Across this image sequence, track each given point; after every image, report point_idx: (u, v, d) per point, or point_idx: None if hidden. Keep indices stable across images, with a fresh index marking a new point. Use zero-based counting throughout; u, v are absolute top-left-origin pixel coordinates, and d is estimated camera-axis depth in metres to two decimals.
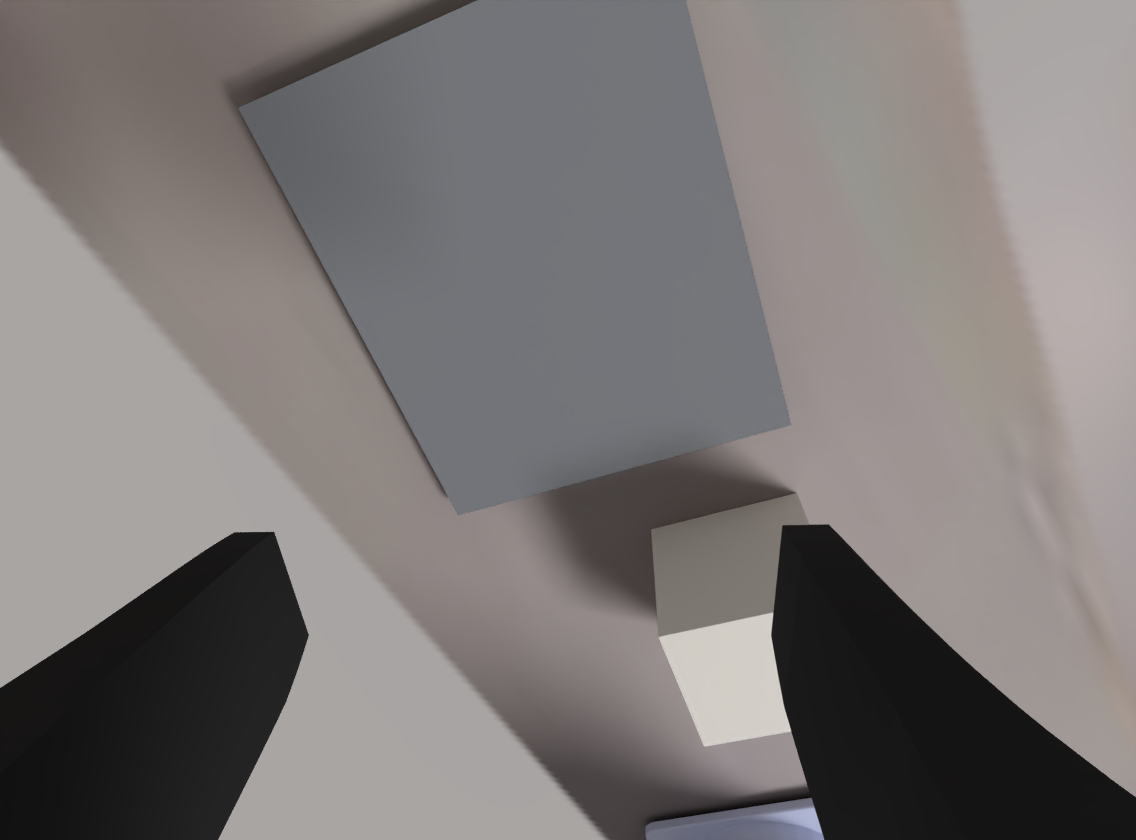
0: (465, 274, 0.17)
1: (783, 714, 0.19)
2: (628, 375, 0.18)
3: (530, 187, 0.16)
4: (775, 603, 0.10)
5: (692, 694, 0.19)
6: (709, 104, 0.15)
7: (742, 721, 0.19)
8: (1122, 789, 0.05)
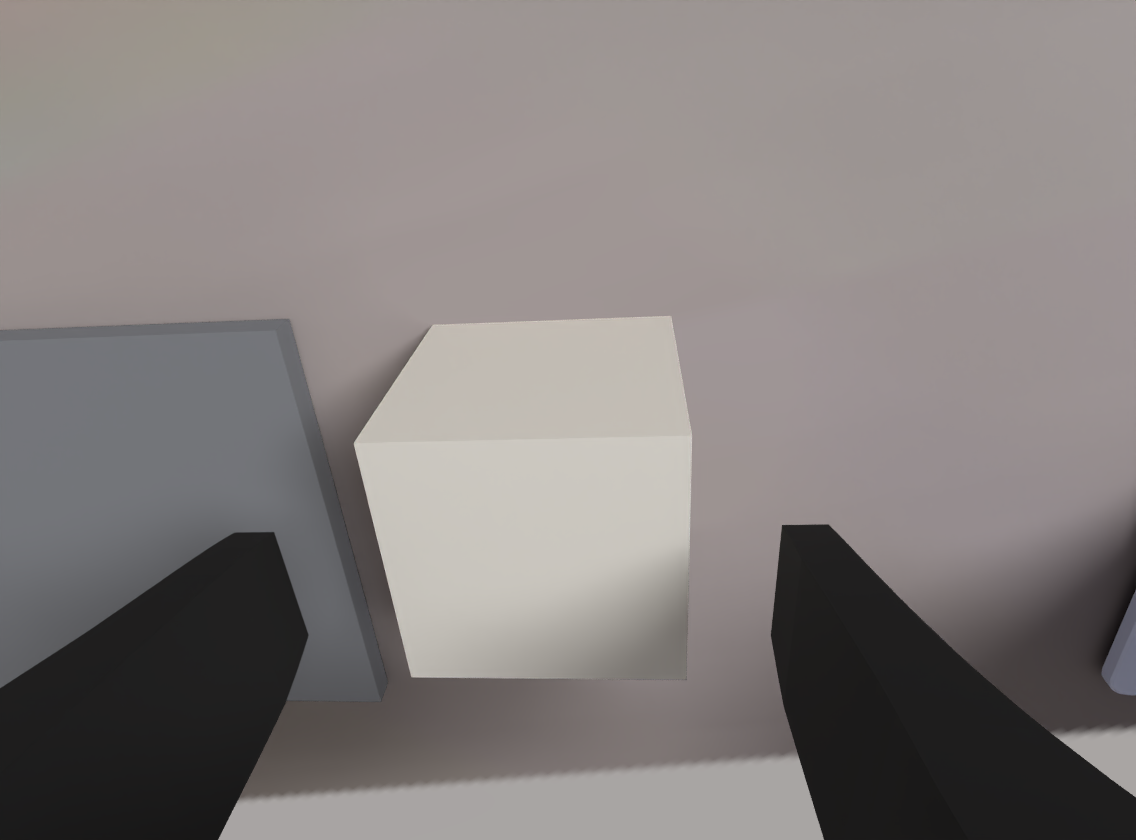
0: (79, 603, 0.17)
1: (636, 563, 0.10)
2: (195, 498, 0.15)
3: None
4: (775, 603, 0.10)
5: (548, 667, 0.11)
6: None
7: (637, 620, 0.11)
8: (1122, 789, 0.05)
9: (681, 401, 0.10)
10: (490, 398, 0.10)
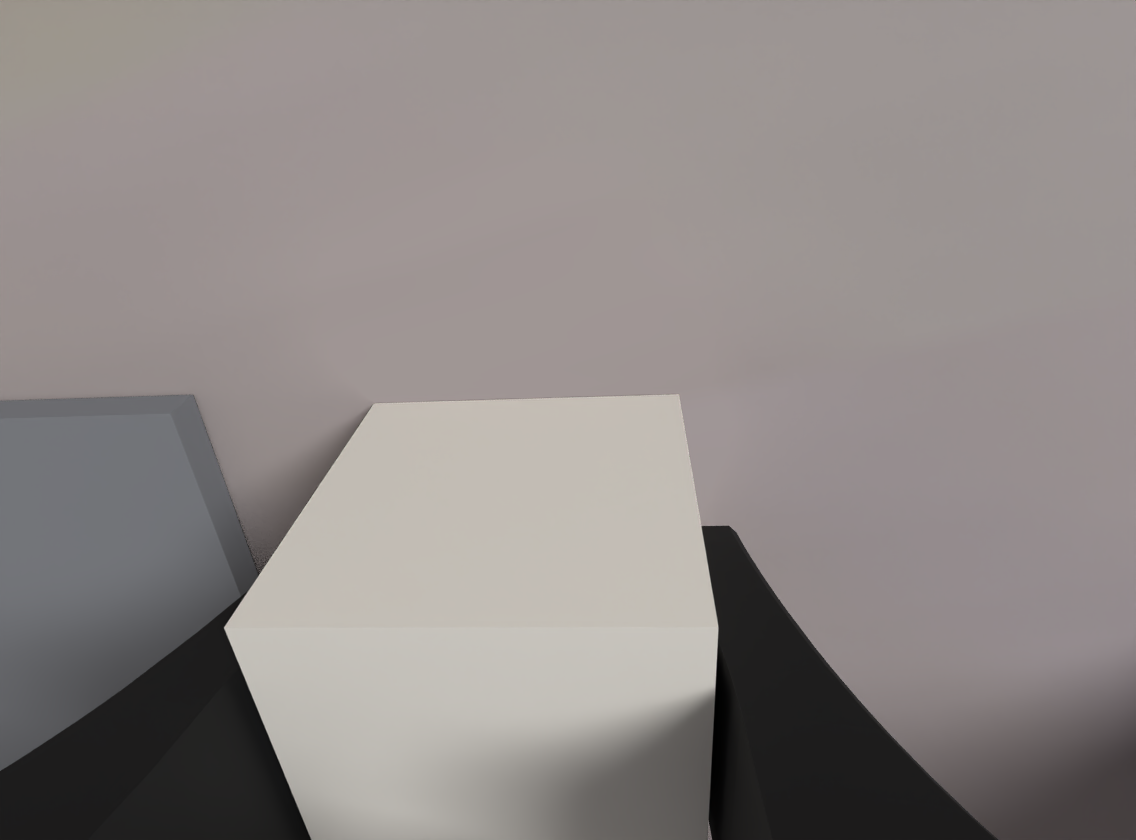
0: None
1: (636, 779, 0.07)
2: (89, 608, 0.12)
3: None
4: None
5: None
6: None
7: None
8: None
9: (699, 554, 0.07)
10: (430, 542, 0.07)
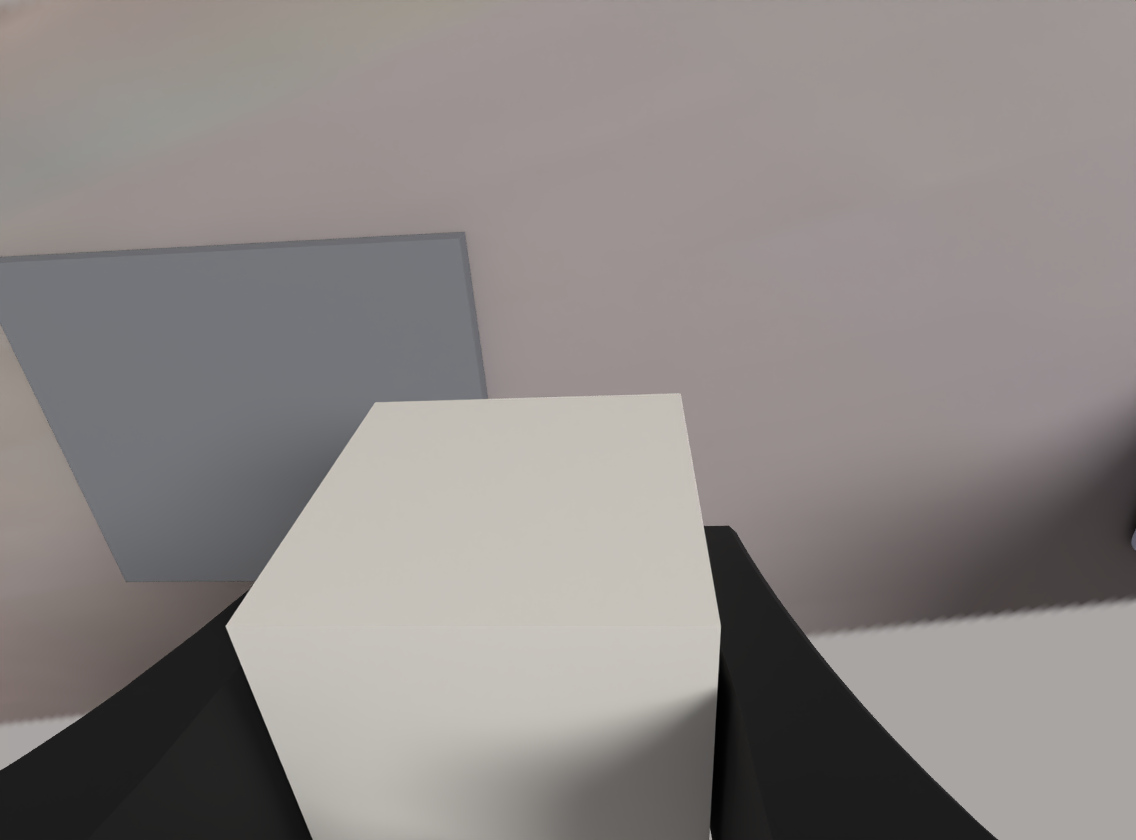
0: (257, 489, 0.19)
1: (638, 777, 0.07)
2: (371, 390, 0.18)
3: (182, 419, 0.18)
4: None
5: None
6: (110, 258, 0.16)
7: None
8: (939, 785, 0.05)
9: (701, 553, 0.07)
10: (432, 540, 0.07)
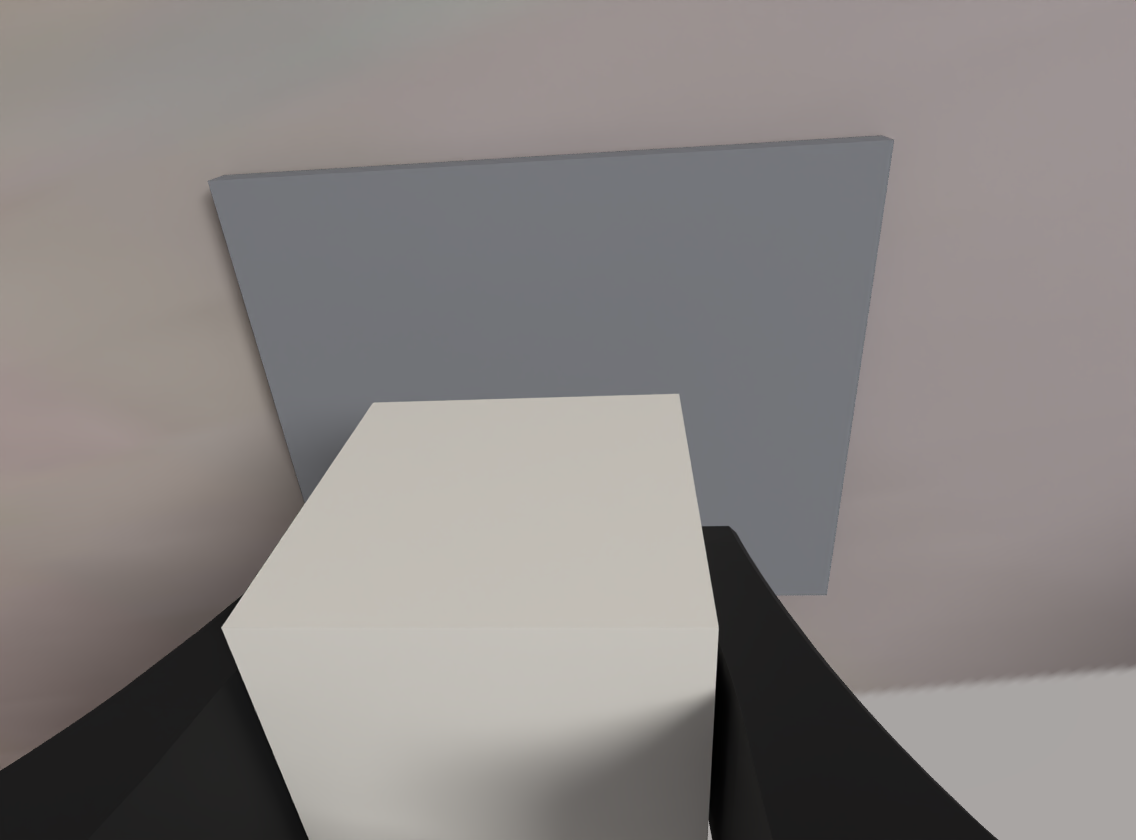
0: None
1: (635, 780, 0.07)
2: (714, 351, 0.14)
3: (451, 390, 0.14)
4: None
5: None
6: (399, 171, 0.12)
7: None
8: None
9: (700, 554, 0.07)
10: (430, 541, 0.07)
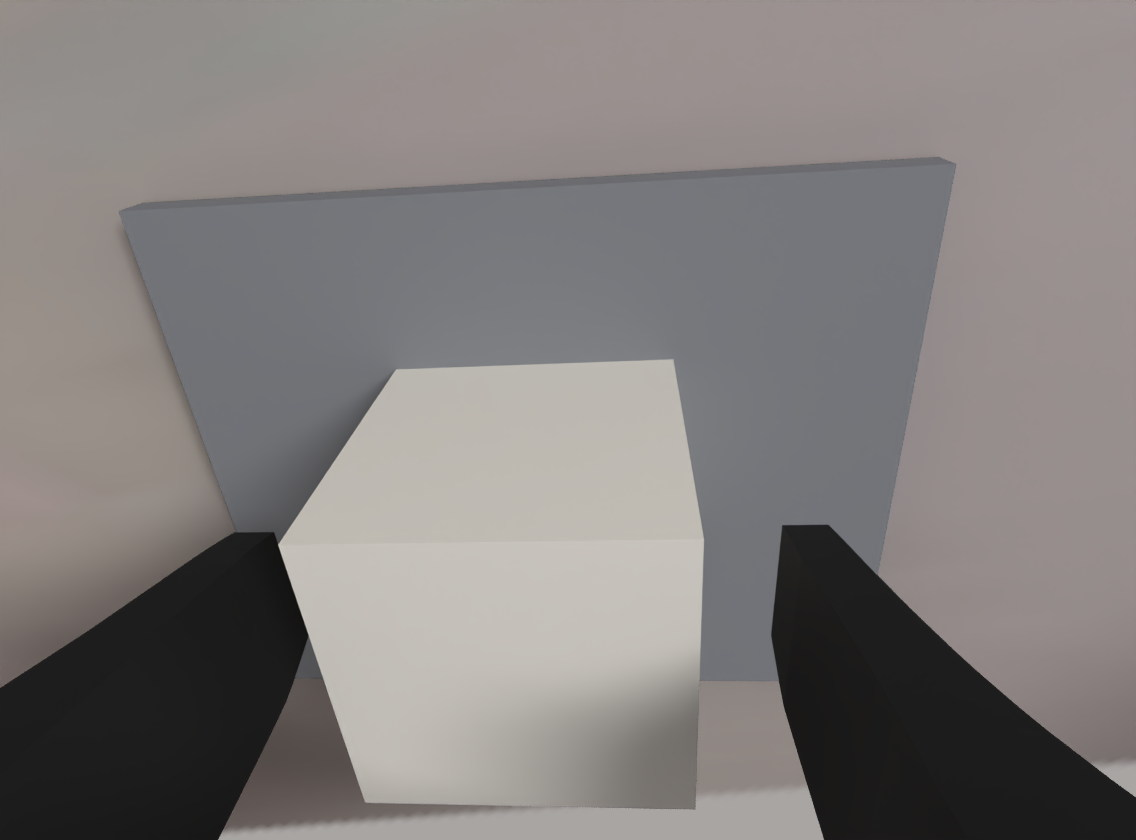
0: None
1: (633, 683, 0.08)
2: (730, 412, 0.11)
3: None
4: (775, 603, 0.10)
5: (528, 794, 0.09)
6: (349, 200, 0.10)
7: (635, 745, 0.09)
8: (1121, 788, 0.05)
9: (689, 485, 0.08)
10: (454, 479, 0.08)
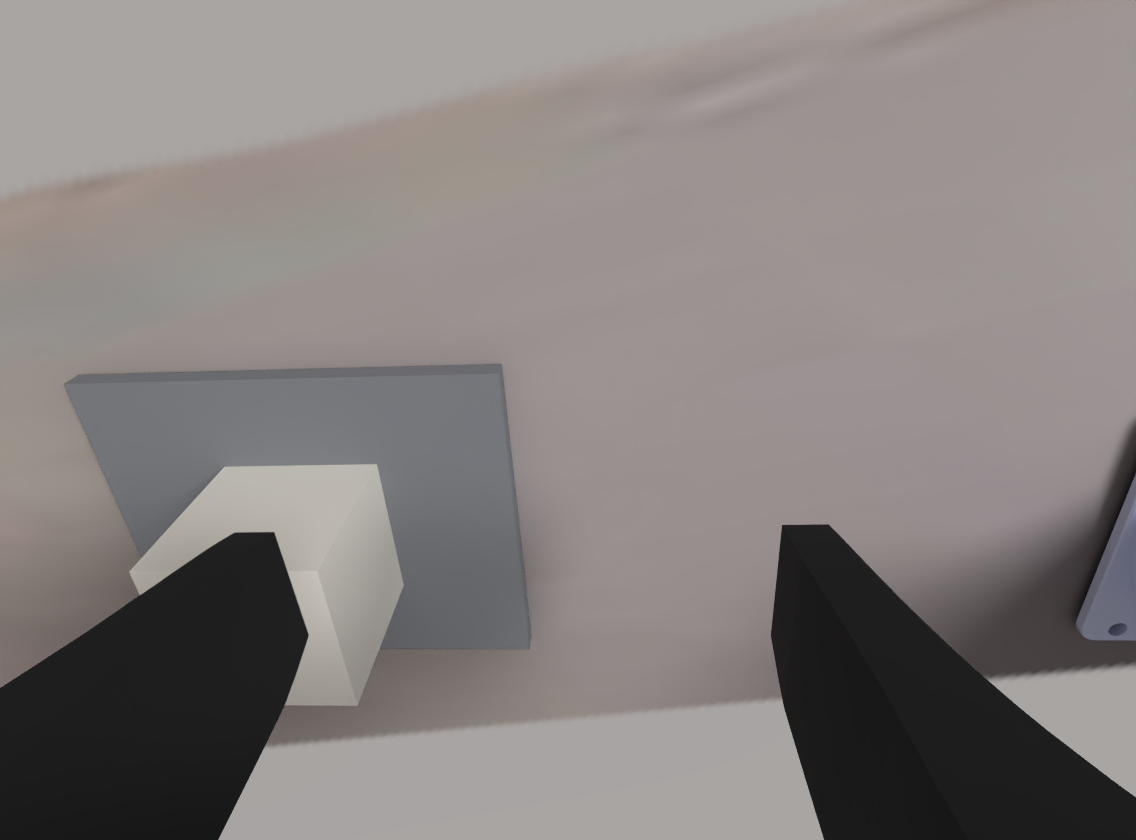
0: None
1: None
2: (414, 492, 0.20)
3: None
4: (775, 603, 0.10)
5: None
6: (188, 382, 0.19)
7: (317, 671, 0.17)
8: (1122, 789, 0.05)
9: (329, 543, 0.17)
10: (223, 538, 0.17)
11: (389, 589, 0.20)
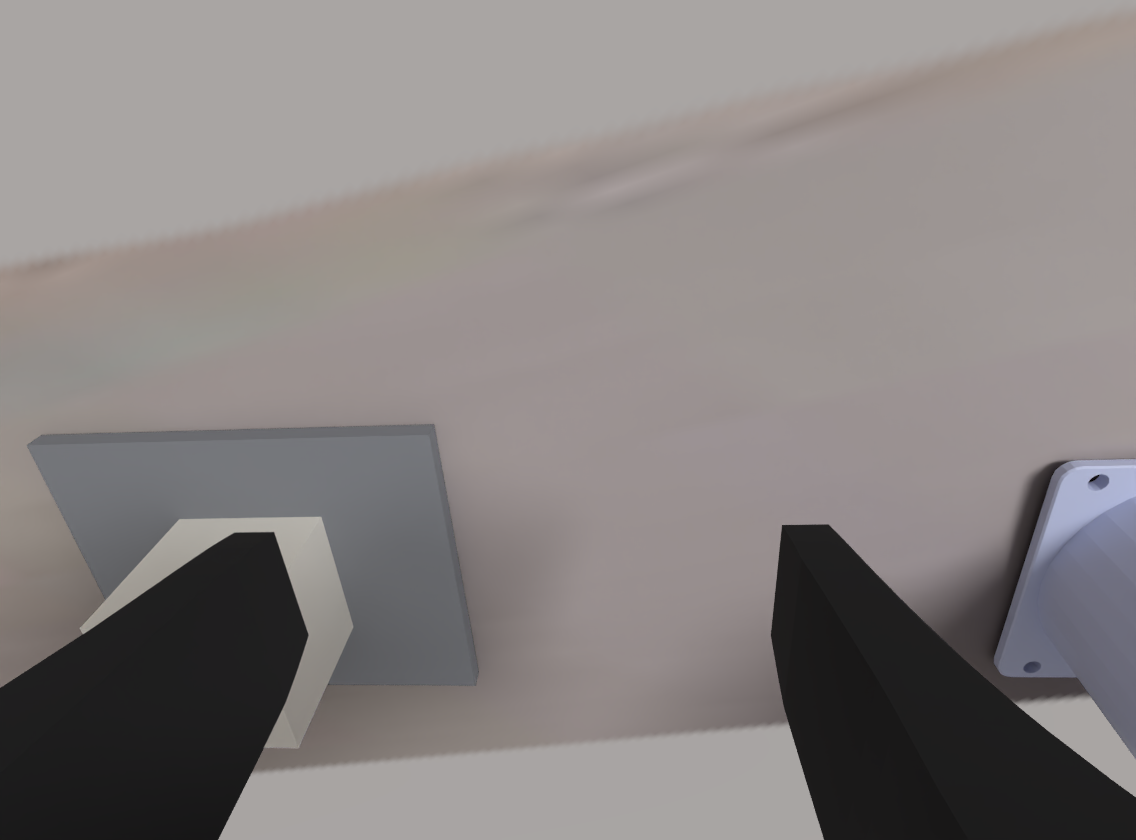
0: None
1: None
2: (358, 542, 0.21)
3: None
4: (775, 603, 0.10)
5: None
6: (142, 443, 0.20)
7: None
8: (1122, 789, 0.05)
9: None
10: None
11: (336, 632, 0.22)
